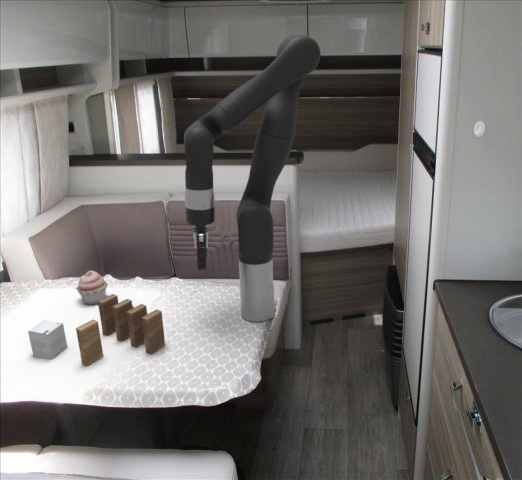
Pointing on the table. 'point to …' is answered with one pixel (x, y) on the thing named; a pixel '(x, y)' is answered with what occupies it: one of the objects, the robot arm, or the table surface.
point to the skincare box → (47, 339)
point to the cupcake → (92, 287)
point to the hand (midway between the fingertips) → (201, 262)
